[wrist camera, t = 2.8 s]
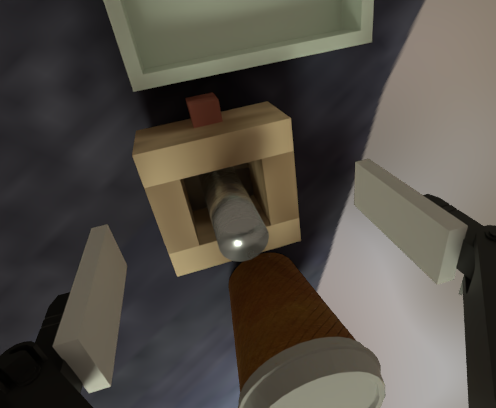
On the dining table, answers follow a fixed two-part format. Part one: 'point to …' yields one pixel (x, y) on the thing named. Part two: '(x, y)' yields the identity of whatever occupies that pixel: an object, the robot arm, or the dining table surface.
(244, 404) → the disposable coffee cup
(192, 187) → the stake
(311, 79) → the dining table surface
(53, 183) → the dining table surface
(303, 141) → the dining table surface
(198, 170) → the wooden square frame
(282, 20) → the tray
